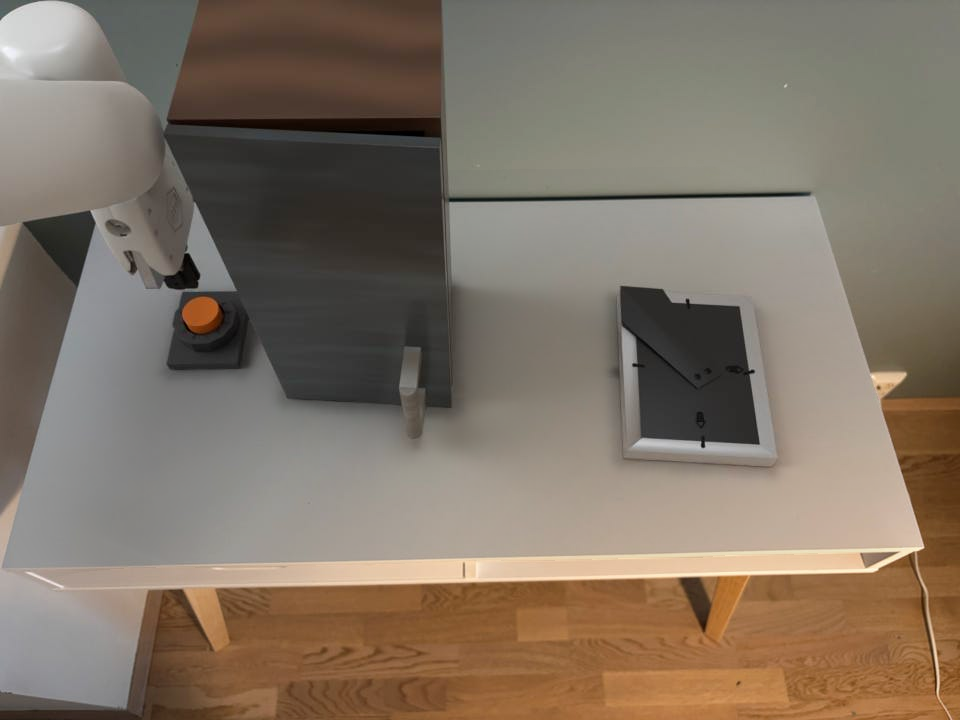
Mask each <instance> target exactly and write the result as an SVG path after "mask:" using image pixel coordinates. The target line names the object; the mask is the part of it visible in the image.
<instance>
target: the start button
mask: <svg viewBox="0 0 960 720" xmlns="http://www.w3.org/2000/svg"><path fill="white" fill-rule="evenodd" d="M182 316H183V319H184V321H185V323H186V324H187V326H188V327H189V329H190V330H191V331H192V332H194V333H197V334H208V333H211V332H213V331H214V330H216V329H217V328H218V327H219V326H220V325H221V323H222V320H223V314H222V311H221V310H220V308H219V306H218V304H217V302H216V301H215V300H214V299H212V298H209V297H198V298H195V299H193V300H191V301H189V302H188V303H187V304H186V305H185V307H184V309H183V312H182Z"/></svg>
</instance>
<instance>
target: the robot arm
mask: <svg viewBox="0 0 960 720" xmlns="http://www.w3.org/2000/svg"><path fill="white" fill-rule="evenodd" d="M164 131H165V129H164V126H163V124H162V120H161V118H160V116H159V115H158V112H157V110H156V109H155V107H154V105H153V104H152V103H151V101H150V100H149V99H148V98H147V97H146V96H145V95H144V93H142V92H141V91H140V90H138V88H136V87H134V86H132V85H131V84H129V82H128V80H127V78H126V75H125V74H124V72H123V70H122V68H121V65H120V64H119V62H118V60H117V57H116V56H115V53H114V51H113V49H112V47H111V45H110V42H109V41H108V39H107V37H106V35H105V33H104V31H103V29H102V28H101V25H100V24H99V23H98V21H97V19H95V17H93V15H92V14H90V13H89V12H88V11H87V10H85V8H82V7H81V6H79V5H77V4H74V3H71V2H68V1H61V0H39V1H34V2H30V3H27V4H24V5H21V6H19V7H17V8H15V9H13V10H11V11H10V12H8V13H7V14H6V15H4V16H3V17H2V18H1V19H0V228H2V227H7V226H11V225H15V224H16V225H17V224H21V223H25V222H32V221H37V220H42V219H49V218H54V217H61V216H66V215H73V214H78V213H84V212H88V211H90V213H91V216H92V218H93V220H94V222H95V224H96V226H97V228H98V230H99V232H100V234H101V235H102V238H103V239H104V241H105V243H106V244H107V247H108V248H109V250H110V251H111V253H112V255H113V256H114V258H115V260H116V261H117V262H118V263H119V265H120V266H121V267H122V268H123V270H124V271H125V272H126V273H128V274H129V275H130V276H135V275H136V274H137V271H138V273H139V276H140V278H141V281H142V283H143V285H144V288H145V289H146V290H160V289H161V288H162V286H163V284H165V286H166V287H167V288H168V289H170V290H176V291H183V290H190V289H191V290H193V289H198V288H199V286H200V285H199V283H200V282H199V281H200V280H201V273H200V270H199V269H198V267H197V265H196V263H195V261H194V260H193V257H192V255H191V254H190V252H188V249H189V247H188V240H189V236H190V231H191V227H192V223H193V222H192V221H193V218H194V212H195V201H194V199H193V197H192V195H191V192H190V190H189V188H188V186H187V184H186V182H185V180H184V178H183V175H182V173H181V171H180V169H179V167H178V166H177V164H176V163H175V162H174V160H173V158H172V157H171V155H170V153H169V152H168V150H167V145H166V144H167V142H166V139H165V137H164V135H163V134H164Z"/></svg>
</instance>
